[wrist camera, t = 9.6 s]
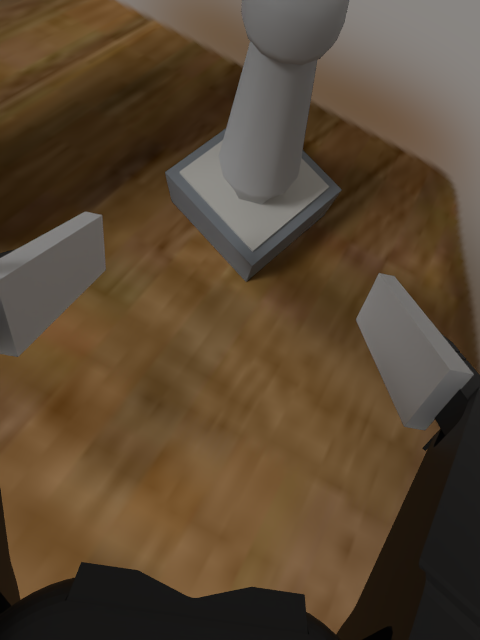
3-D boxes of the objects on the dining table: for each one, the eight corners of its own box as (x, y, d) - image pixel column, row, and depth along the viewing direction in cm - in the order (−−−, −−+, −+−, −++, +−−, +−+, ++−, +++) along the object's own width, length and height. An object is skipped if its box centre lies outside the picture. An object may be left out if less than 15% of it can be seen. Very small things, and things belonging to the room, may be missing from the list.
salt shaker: (249, 134, 25) (290, -125, 12) (305, 177, 24) (409, -40, 12) (203, 183, 23) (192, -45, 11) (261, 228, 23) (321, 51, 10)
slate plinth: (171, 201, 27) (164, 170, 23) (252, 140, 29) (259, 102, 25) (246, 281, 27) (252, 264, 23) (324, 215, 29) (343, 188, 24)
